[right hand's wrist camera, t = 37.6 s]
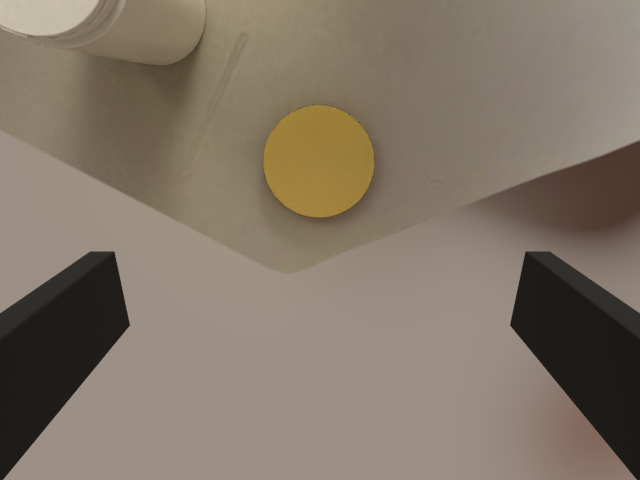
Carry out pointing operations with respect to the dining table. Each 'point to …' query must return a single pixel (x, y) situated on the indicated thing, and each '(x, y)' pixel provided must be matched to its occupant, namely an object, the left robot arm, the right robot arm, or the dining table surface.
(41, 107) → the dining table surface
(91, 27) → the jar
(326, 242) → the dining table surface
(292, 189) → the lid
